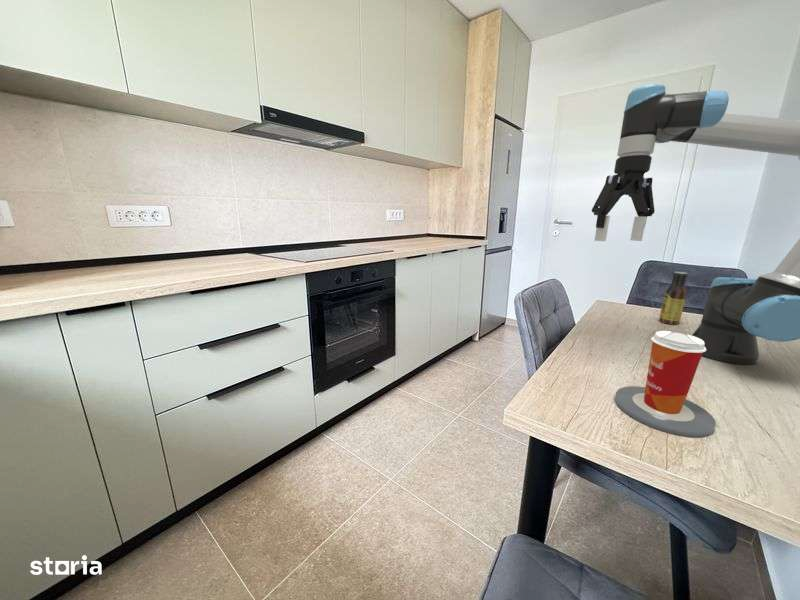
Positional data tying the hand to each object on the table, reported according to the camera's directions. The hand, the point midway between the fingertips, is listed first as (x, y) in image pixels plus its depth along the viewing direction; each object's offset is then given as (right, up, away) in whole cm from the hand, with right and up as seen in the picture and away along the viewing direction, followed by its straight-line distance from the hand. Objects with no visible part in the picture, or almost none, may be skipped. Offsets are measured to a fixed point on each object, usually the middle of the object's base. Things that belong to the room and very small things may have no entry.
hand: (618, 240), depth 87 cm
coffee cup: (-6, -38, -22) cm, 44 cm away
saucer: (-6, -39, -21) cm, 45 cm away
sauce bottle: (+45, -25, +37) cm, 64 cm away
